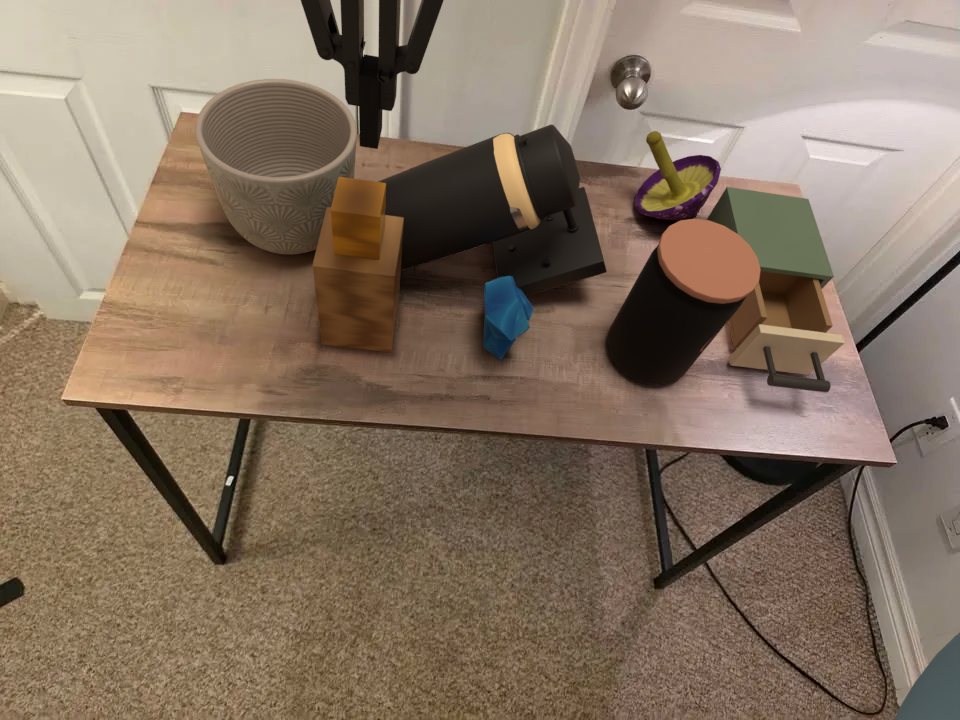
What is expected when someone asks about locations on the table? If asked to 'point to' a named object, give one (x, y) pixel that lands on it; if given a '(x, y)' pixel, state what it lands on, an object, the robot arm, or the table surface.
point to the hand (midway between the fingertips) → (371, 136)
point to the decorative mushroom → (676, 183)
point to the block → (358, 218)
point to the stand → (358, 290)
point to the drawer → (785, 331)
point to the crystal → (504, 315)
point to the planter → (277, 159)
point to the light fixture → (501, 209)
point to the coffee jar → (681, 300)
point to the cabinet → (776, 231)
